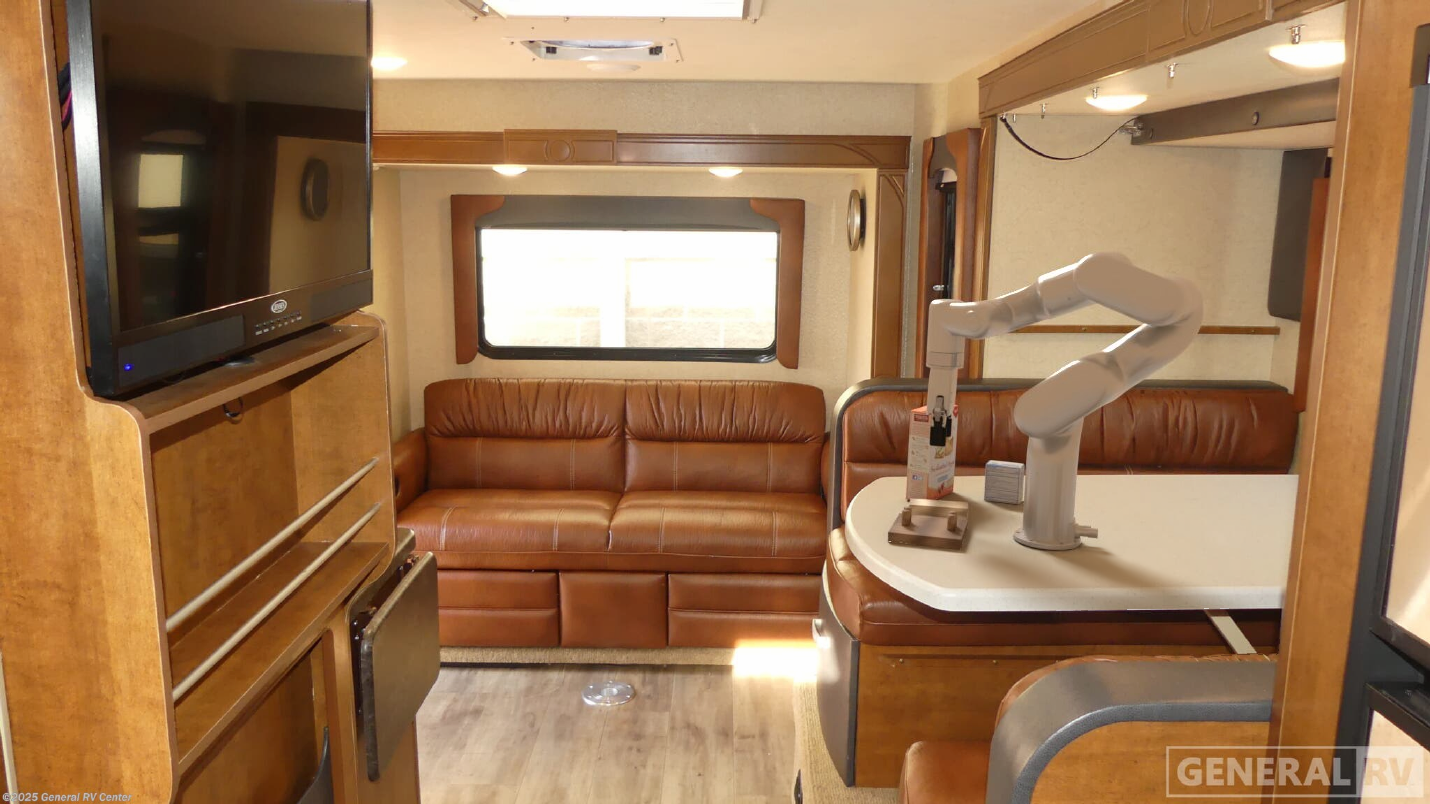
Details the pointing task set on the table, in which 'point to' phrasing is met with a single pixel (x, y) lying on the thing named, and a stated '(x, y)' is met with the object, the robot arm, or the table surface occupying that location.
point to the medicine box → (1004, 482)
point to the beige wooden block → (938, 508)
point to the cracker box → (929, 458)
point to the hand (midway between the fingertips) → (940, 441)
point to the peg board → (928, 530)
